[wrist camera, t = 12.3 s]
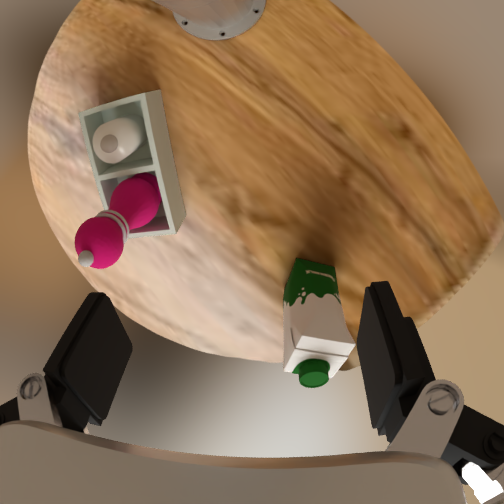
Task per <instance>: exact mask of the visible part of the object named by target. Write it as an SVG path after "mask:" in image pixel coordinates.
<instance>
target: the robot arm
mask: <svg viewBox="0 0 504 504" xmlns="http://www.w3.org/2000/svg"><path fill="white" fill-rule="evenodd" d="M152 1H154V2H156V3H158V4H160V5H162V6H164V7H166V8H168V9H170V10H172V11H173V15H174V17H175V19H176V21H177V23H178V24H179V25H180V26H181V27H182V28H183V29H184V30H185V31H186V32H188V33H190V34H191V35H194V36H196V37H198V38H202V39H206V40H225V39H229V38H233V37H236V36H238V35H240V34H243V33H244V32H246V31H247V30H249V29H250V28H251V27H252V26H253V25H254V24H256V23H257V21H258V20H259V18H260V17H261V15H262V13H263V11H264V9H265V4H266V0H152ZM255 11H259V12H258V13H255ZM186 22H188V24H187V25H185V23H186ZM222 33H225V35H224V36H222ZM357 351H358V355H359V360H360V365H361V370H362V374H363V379H364V385H365V390H366V395H367V401H368V407H369V412H370V418H371V424H372V427H373V428H377V430H378V435H379V436H380V435H386V436H387V441H388V442H390V444H389V446H388V447H387V449H386V451H381V452H367V453H353V454H342V455H332V456H331V455H330V456H316V457H315V456H314V457H289V458H248V457H227V456H226V457H225V456H211V455H201V454H191V453H183V452H175V451H168V450H161V449H155V448H149V447H143V446H137V445H132V444H127V443H122V442H118V441H113V440H109V439H105V438H101V437H96V436H93V435H90V434H89V432H88V429H87V426H86V425H87V423H88V422H89V423H90V424H94V425H98V426H101V424H102V421H103V420H104V419H106V417H107V415H108V412H109V409H110V406H111V404H112V401H113V399H114V396H115V393H116V391H117V388H118V386H119V383H120V380H121V378H122V375H123V373H124V370H125V368H126V365H127V362H128V360H129V358H130V355H131V353H132V343H131V341H130V339H129V337H128V335H127V333H126V331H125V329H124V327H123V325H122V323H121V321H120V319H119V317H118V315H117V313H116V311H115V308H114V306H113V304H112V302H111V300H110V298H109V297H108V296H106V294H105V293H102V292H97V293H96V292H92V293H89V295H88V296H87V297H86V299H85V300H84V302H83V303H82V305H81V307H80V308H79V310H78V311H77V313H76V314H75V316H74V318H73V319H72V321H71V322H70V324H69V326H68V327H67V329H66V331H65V332H64V334H63V335H62V337H61V339H60V341H59V342H58V344H57V346H56V348H55V349H54V351H53V353H52V354H51V356H50V358H49V360H48V362H47V363H46V365H45V367H44V369H43V371H44V372H45V376H44V377H43V376H42V375H41V374H39V373H32V374H29V375H27V376H26V377H25V378H24V379H23V380H22V381H21V382H20V384H19V386H18V389H17V397H15V398H14V399H12V400H10V401H8V402H6V403H5V404H3V405H1V406H0V504H467V501H466V497H465V493H464V490H463V486H462V484H465V485H470V486H471V487H472V488H473V489H474V490H475V491H476V492H475V493H474V494H475V495H476V496H477V498H478V499H479V501H480V502H481V504H504V425H502V424H500V423H498V422H496V421H494V420H492V419H491V418H489V417H487V416H484V415H483V414H481V413H479V412H477V411H475V410H473V409H471V408H470V407H467V406H466V405H464V397H463V394H462V392H461V390H460V389H459V387H458V386H457V385H456V384H454V383H452V382H451V381H447V380H436V379H435V376H434V373H433V371H432V368H431V365H430V362H429V360H428V357H427V354H426V352H425V349H424V346H423V344H422V342H421V339H420V336H419V334H418V331H417V329H416V326H415V324H414V322H413V320H412V318H411V317H403V315H402V312H401V310H400V308H399V305H398V303H397V300H396V298H395V296H394V293H393V291H392V289H391V286H390V284H389V282H388V281H381V282H372V283H371V285H370V287H366V288H365V294H364V301H363V308H362V314H361V320H360V326H359V331H358V337H357ZM461 483H462V484H461Z"/></svg>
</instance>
